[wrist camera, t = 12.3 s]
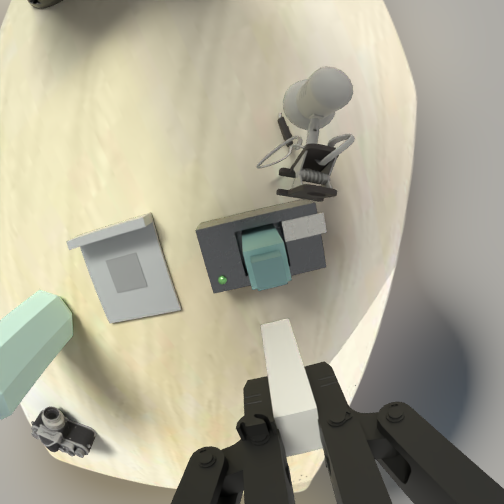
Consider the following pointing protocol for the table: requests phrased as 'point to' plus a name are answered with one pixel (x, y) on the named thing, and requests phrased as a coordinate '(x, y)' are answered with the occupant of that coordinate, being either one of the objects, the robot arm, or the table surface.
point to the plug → (265, 257)
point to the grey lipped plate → (128, 269)
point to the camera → (62, 433)
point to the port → (282, 216)
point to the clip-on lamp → (313, 132)
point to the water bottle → (30, 345)
